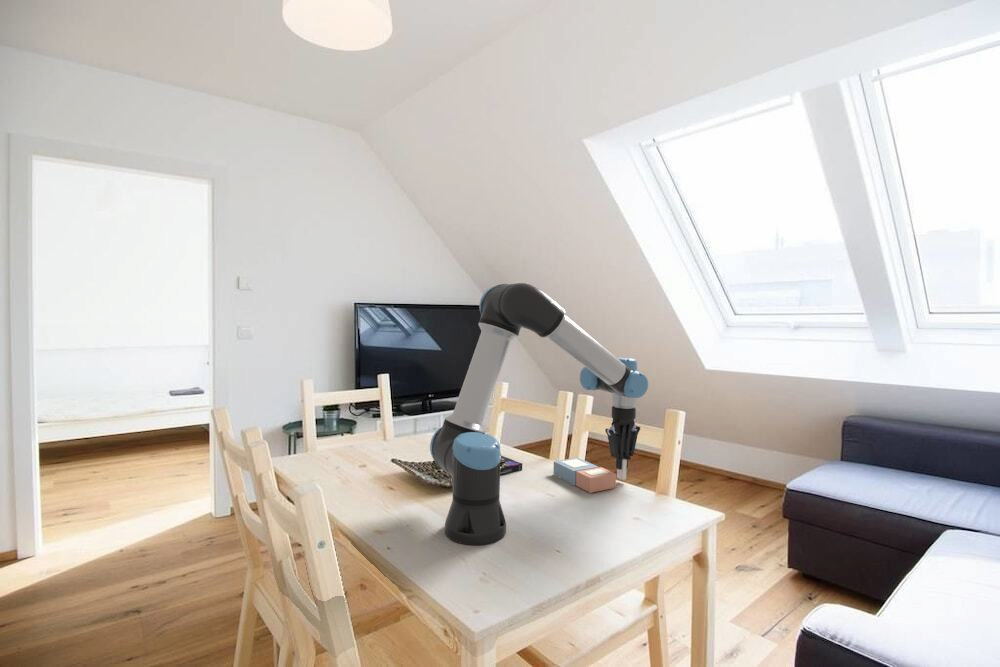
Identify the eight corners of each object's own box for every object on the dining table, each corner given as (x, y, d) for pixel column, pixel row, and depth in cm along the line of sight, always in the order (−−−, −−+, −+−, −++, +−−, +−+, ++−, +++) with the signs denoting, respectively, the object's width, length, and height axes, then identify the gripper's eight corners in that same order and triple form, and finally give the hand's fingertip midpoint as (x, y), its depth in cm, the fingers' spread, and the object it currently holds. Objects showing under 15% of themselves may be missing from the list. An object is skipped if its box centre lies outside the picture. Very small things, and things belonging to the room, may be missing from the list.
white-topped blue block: (599, 481, 162) (600, 467, 162) (574, 485, 157) (575, 471, 157) (577, 470, 173) (577, 457, 172) (553, 474, 168) (553, 460, 168)
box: (477, 485, 159) (522, 472, 172) (477, 474, 159) (523, 462, 171) (452, 472, 170) (497, 461, 182) (453, 462, 170) (497, 451, 182)
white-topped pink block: (615, 487, 155) (616, 473, 155) (590, 492, 151) (590, 477, 150) (600, 480, 162) (601, 466, 161) (575, 485, 157) (576, 470, 157)
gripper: (630, 402, 166) (628, 472, 167) (600, 405, 160) (598, 477, 161) (647, 406, 160) (644, 479, 161) (616, 409, 154) (613, 485, 155)
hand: (621, 478), depth 161 cm, fingers closed
